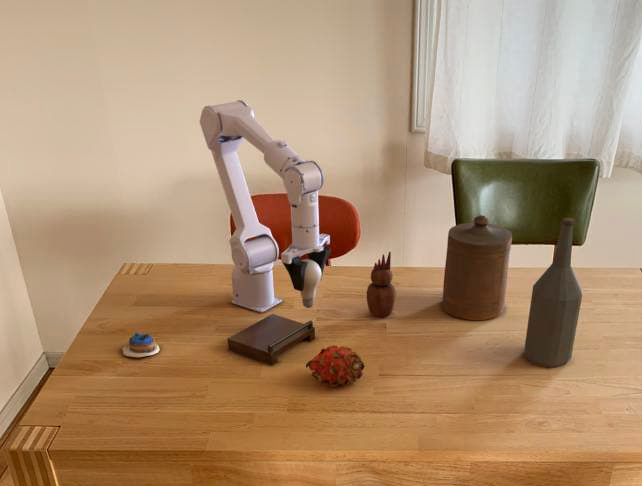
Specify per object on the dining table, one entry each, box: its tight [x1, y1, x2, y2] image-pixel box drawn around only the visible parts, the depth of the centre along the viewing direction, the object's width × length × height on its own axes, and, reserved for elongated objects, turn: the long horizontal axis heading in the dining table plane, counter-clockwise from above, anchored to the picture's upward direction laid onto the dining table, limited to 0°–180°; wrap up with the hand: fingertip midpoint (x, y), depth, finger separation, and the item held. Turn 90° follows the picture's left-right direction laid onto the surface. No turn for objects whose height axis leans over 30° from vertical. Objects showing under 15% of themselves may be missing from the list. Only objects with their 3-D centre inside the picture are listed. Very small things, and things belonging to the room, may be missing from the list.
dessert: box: [121, 332, 160, 358], centre depth 169 cm, size 8×7×6 cm
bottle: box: [524, 217, 583, 368], centre depth 162 cm, size 10×10×30 cm
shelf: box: [227, 313, 316, 366], centre depth 172 cm, size 12×15×4 cm
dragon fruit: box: [305, 345, 365, 388], centre depth 159 cm, size 8×8×12 cm
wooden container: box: [441, 214, 513, 321], centre depth 184 cm, size 15×15×22 cm
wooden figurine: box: [366, 251, 397, 318], centre depth 182 cm, size 7×6×15 cm
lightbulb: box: [300, 258, 322, 309], centre depth 174 cm, size 6×6×11 cm
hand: (307, 284), depth 174 cm, fingers closed on lightbulb, 6 cm apart
